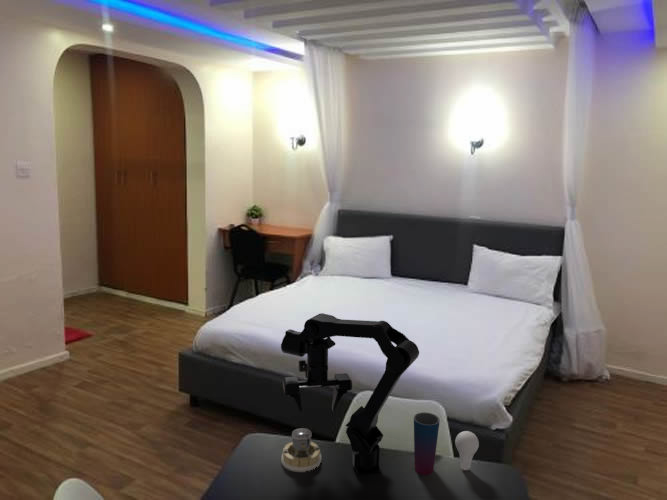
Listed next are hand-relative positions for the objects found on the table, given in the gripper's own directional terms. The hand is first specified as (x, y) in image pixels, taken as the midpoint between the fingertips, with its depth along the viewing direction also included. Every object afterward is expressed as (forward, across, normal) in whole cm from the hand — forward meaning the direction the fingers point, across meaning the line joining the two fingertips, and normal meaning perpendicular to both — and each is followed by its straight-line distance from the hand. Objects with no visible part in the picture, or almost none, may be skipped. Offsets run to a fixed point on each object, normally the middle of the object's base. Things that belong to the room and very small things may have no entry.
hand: (317, 412), depth 156 cm
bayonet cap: (+11, +5, +4) cm, 13 cm away
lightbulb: (+12, -38, +16) cm, 43 cm away
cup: (+12, -27, +14) cm, 33 cm away
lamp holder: (+12, +5, +4) cm, 14 cm away
